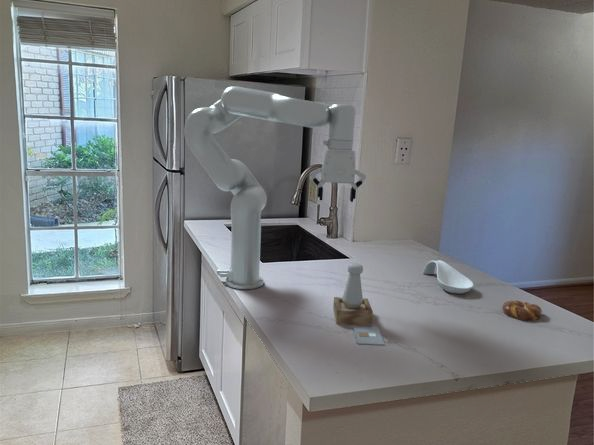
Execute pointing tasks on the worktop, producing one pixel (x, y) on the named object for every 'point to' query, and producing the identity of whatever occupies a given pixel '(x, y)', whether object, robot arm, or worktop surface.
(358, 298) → the salt shaker
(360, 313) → the wooden crate
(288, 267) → the worktop surface
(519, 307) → the pretzel
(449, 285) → the spoon rest
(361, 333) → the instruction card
